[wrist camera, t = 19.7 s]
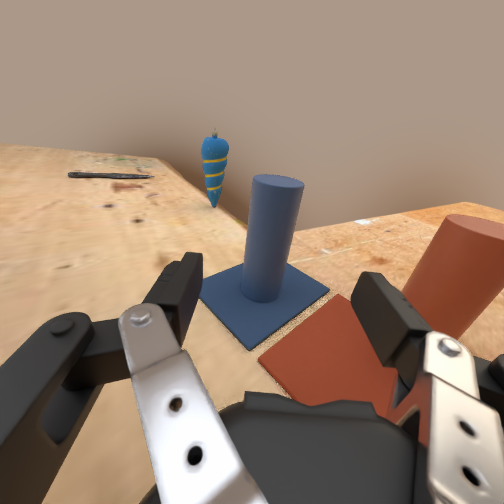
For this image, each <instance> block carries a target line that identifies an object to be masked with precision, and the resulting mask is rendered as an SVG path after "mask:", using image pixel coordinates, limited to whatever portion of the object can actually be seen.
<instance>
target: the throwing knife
mask: <svg viewBox="0 0 504 504" xmlns="http://www.w3.org/2000/svg"><path fill="white" fill-rule="evenodd" d="M68 176H69V177H108V178H148V177H155V176H149V175H137V174H120V173H84V172H70V173H68Z"/></svg>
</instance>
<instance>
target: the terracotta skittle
mask: <svg viewBox="0 0 504 504" xmlns="http://www.w3.org/2000/svg"><path fill="white" fill-rule="evenodd" d="M503 288H504V224H501V223H497V222H494V221H490V220H486V219H482V218H477V217H472V216H466V215H457V214H451V215H447V216H446V217H445V219H444V221H443V222H442V224H441V226H440V227H439V229H438V231H437V232H436V234H435V236H434V237H433V239H432V241H431V242H430V244H429V246H428V248H427V249H426V251H425V253H424V254H423V256H422V258H421V259H420V261H419V263H418V264H417V266H416V268H415V269H414V271H413V273H412V274H411V276H410V278H409V279H408V281H407V283H406V285H405V286H404V288H403V290H402V291H401V293H402V294H403V295H404V296H405V297H406V299H407V301H409V302H410V303H411V304H412V306H413V308H415V309H416V310H417V311H418V313H419V314H420V315H421V316H422V317H423V318H424V320H425V321H426V322H427V323H428V324H429V325H430V327H431V328H432V329H433V330H434V331H435V332H441V333H444V334H446V335H449V336H451V337H452V338H454V339H456V340H458V339H459V337H460V336H461V335H462V334H463V333H464V332H465V331H466V330H467V328H468V327H469V326H470V325H471V324H472V323H473V322H474V321H475V320H476V318H477V317H478V316H479V315H480V314H481V313H482V312H483V311H484V309H485V308H486V307H487V306H488V305H489V304H490V303H491V302H492V301H493V299H494V298H495V297H496V296H497V295H498V294H499V293H500V292H501V290H502V289H503Z"/></svg>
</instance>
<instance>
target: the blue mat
mask: <svg viewBox="0 0 504 504" xmlns="http://www.w3.org/2000/svg"><path fill="white" fill-rule="evenodd" d="M243 265H244V263H242V264H240V265H237V266H235V267H232V268H230V269H227V270H225V271H222V272H220V273H217V274H215V275H212V276H210V277H207V278H205V279H203V283H202V289H201V292H200V295H199V298H200V299H201V300H202V301H203V302H204V303H205V305H206V306H207V307H208V308H209V309H210V310H211V311H212V312H213V313H214V314H215V315H216V316H217V317H218V318H219V320H220V321H221V322H222V323H223V324H224V325H225V326H226V327H227V328H228V329H229V330H230V331H231V332H232V333H233V335H234V336H235V337H236V338H237V339H238V340H239V341H240V342H241V343H242V344H243V345H244V346H245V347H246V349H247V350H248V351H250V350H252V349H253V348H254V347H256V346H257V345H258V344H260V343H261V342H262V341H264V340H265V339H266V338H268V337H269V336H270V335H272V334H273V333H274V332H276V331H277V330H278V329H280V328H281V327H282V326H284V325H285V324H286V323H288V322H289V321H290V320H292V319H293V318H294V317H296V316H297V315H298V314H300V313H301V312H302V311H304V310H305V309H306V308H308V307H309V306H310V305H312V304H313V303H314V302H316V301H317V300H318V299H320V298H321V297H322V296H324V295H325V294H326V293H328V292H329V290H330V289H329V288H328V287H326V286H324V285H323V284H321V283H319V282H318V281H316V280H314V279H313V278H311V277H309V276H308V275H306V274H304V273H303V272H301V271H300V270H298V269H296V268H295V267H293V266H291V265H290V264H288V263H287V264H286V268H285V273H284V277H283V281H282V286H281V290H280V294H279V296H278V297H277V298H276V299H275V300H273V301H271V302H266V303H262V302H256V301H253V300H251V299H249V298H247V297H246V296H245V295H244V294H243V292H242V290H241V283H242V274H243Z"/></svg>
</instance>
